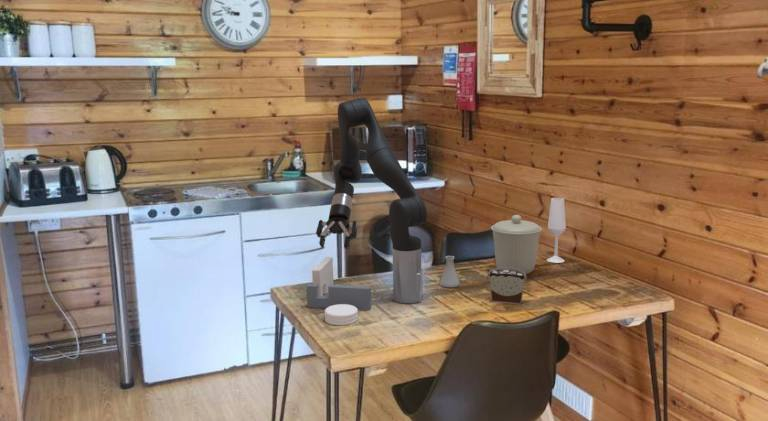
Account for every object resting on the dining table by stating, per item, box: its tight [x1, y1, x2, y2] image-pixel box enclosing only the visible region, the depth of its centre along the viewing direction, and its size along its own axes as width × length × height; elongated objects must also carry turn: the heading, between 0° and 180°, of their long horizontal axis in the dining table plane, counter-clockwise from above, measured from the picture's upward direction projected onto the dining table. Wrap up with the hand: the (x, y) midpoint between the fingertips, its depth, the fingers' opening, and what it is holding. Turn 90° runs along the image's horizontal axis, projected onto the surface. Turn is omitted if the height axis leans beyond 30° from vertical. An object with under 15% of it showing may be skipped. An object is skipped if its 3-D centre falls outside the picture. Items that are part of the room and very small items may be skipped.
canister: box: [490, 214, 543, 275], centre depth 254 cm, size 18×18×21 cm
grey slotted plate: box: [306, 283, 372, 311], centre depth 221 cm, size 20×2×7 cm, turn 79°
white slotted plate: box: [311, 256, 334, 296], centre depth 236 cm, size 16×2×10 cm, turn 169°
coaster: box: [324, 304, 359, 326], centre depth 211 cm, size 10×10×4 cm
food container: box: [487, 267, 527, 305], centre depth 225 cm, size 12×6×10 cm, turn 71°
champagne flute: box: [546, 197, 567, 264], centre depth 267 cm, size 7×7×24 cm
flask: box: [439, 255, 461, 288], centre depth 241 cm, size 7×7×10 cm
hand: (333, 247), depth 248 cm, fingers open, 8 cm apart
